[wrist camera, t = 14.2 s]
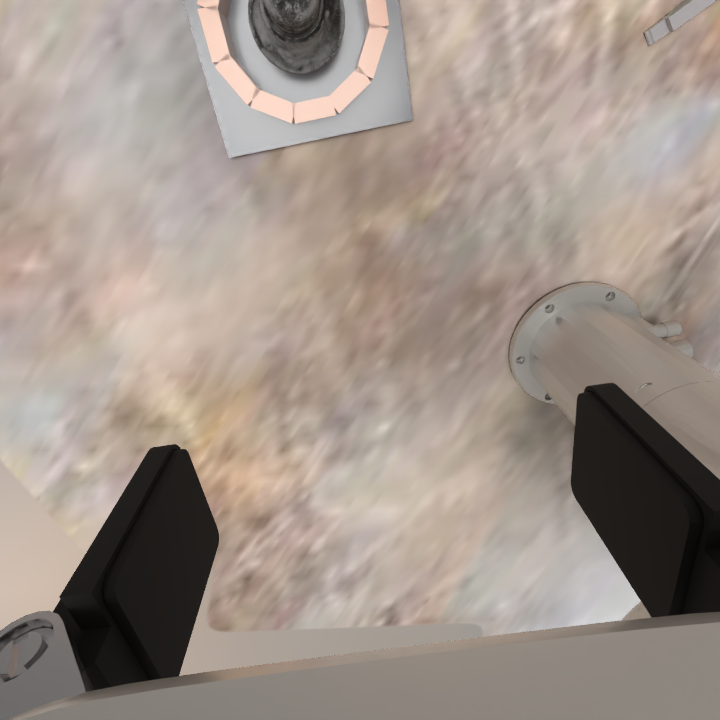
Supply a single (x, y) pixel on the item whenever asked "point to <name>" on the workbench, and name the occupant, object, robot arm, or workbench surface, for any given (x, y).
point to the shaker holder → (301, 78)
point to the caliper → (676, 19)
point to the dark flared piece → (297, 32)
